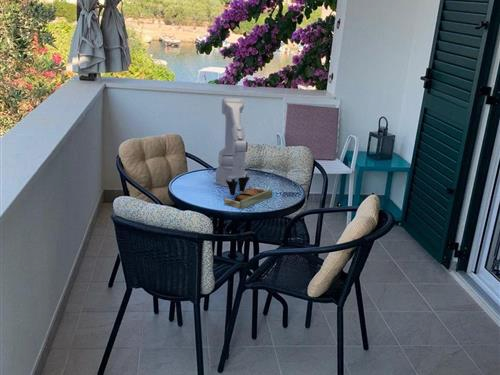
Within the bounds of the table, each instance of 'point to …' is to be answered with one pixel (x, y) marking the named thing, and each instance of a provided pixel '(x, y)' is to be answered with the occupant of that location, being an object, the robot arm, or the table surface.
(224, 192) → the table surface
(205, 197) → the table surface
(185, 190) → the table surface
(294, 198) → the table surface
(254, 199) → the dock
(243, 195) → the sunglasses case
